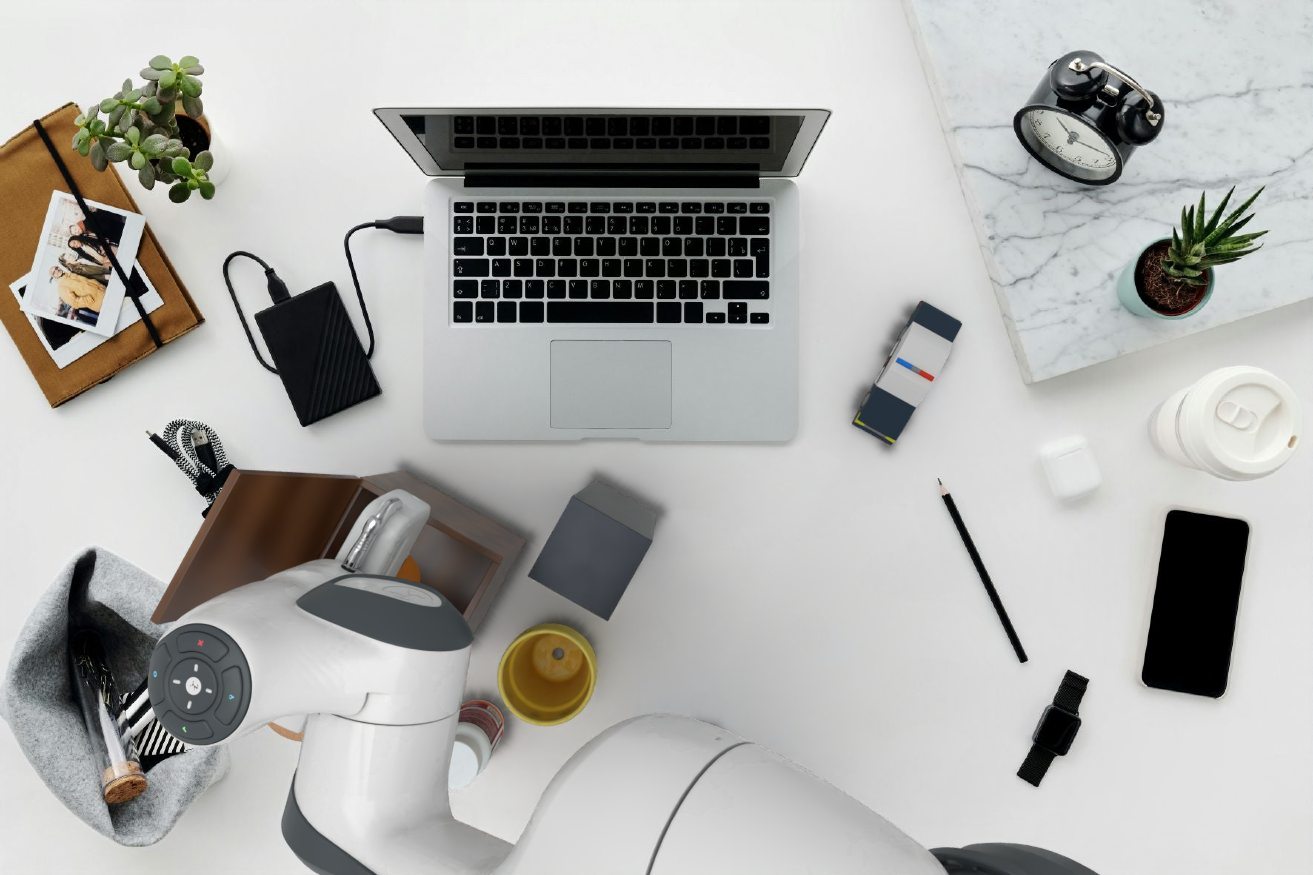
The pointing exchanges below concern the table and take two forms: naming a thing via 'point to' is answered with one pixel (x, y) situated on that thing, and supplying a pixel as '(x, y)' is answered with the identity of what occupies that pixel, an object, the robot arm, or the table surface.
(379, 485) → the chest
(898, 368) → the toy car
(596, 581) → the stand
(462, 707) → the pill bottle
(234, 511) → the chest lid
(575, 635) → the flower pot
